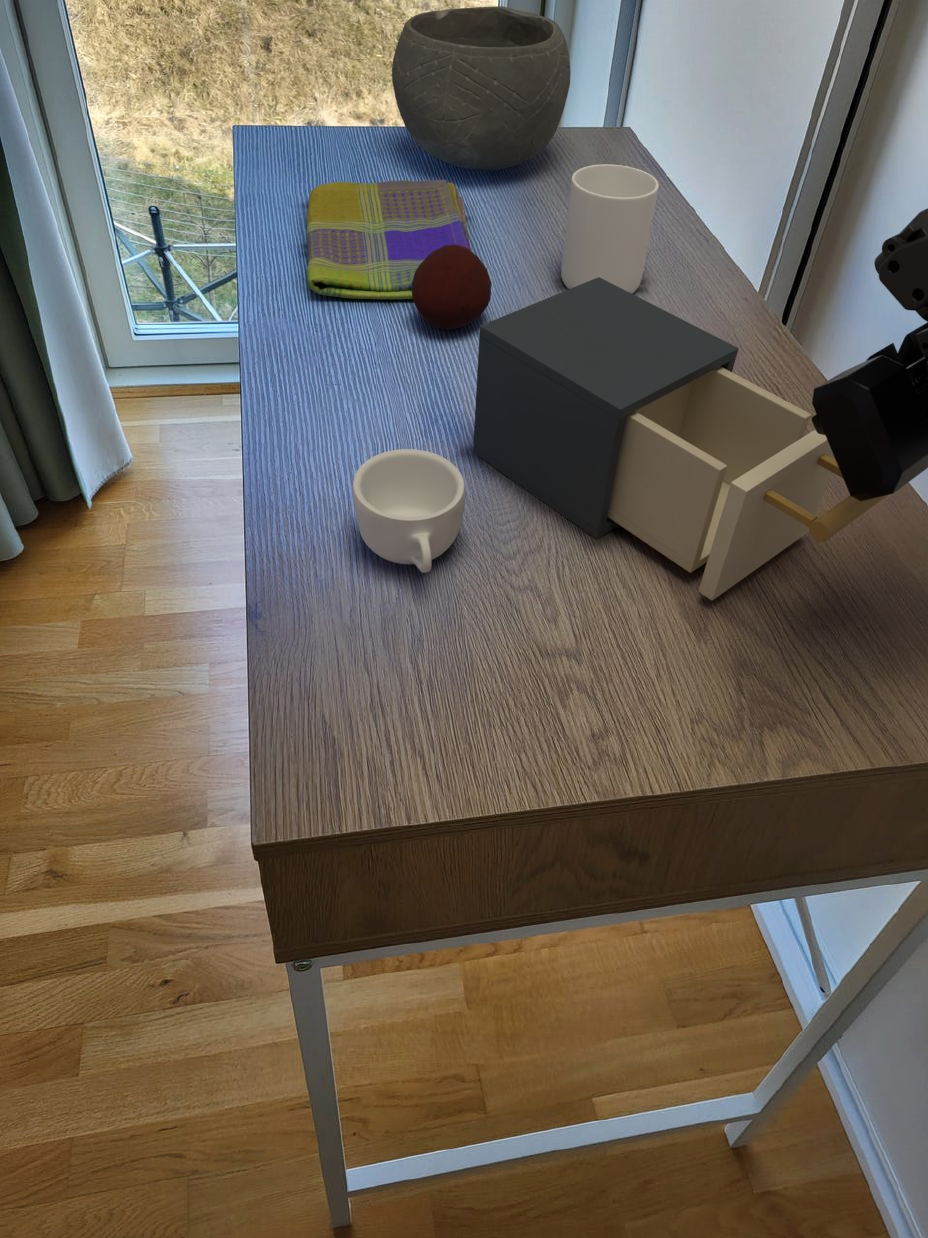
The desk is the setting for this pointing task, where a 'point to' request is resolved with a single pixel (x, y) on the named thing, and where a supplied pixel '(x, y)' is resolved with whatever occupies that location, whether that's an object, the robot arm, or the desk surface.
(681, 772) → the desk surface
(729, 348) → the cabinet
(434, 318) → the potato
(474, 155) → the bowl
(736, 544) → the drawer
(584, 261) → the cup
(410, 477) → the teacup
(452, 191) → the dish towel
